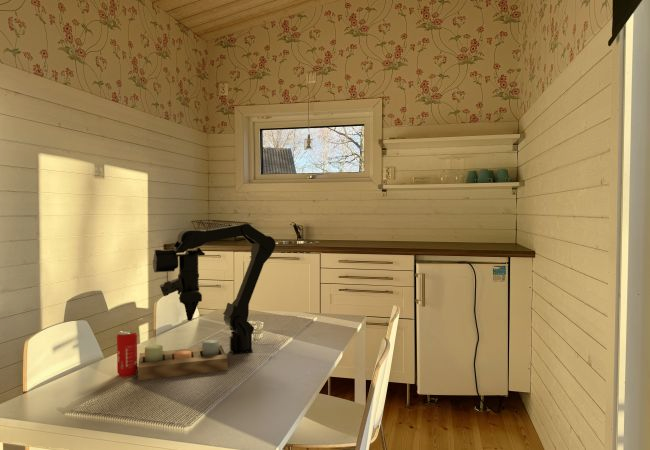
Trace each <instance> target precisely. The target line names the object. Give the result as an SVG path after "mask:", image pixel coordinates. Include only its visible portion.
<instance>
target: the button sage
mask: <svg viewBox="0 0 650 450" xmlns="http://www.w3.org/2000/svg"><path fill="white" fill-rule="evenodd" d="M163 349H164V348H163V345H161V344H152V345H147V346H145V347H144V353H145V362H155V361H163V351H164V350H163Z"/></svg>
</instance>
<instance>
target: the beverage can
mask: <svg viewBox="0 0 650 450" xmlns="http://www.w3.org/2000/svg"><path fill="white" fill-rule="evenodd" d="M116 356H117V357H116V358H117V361H116V363H117V364H116V365H117V367H116V368H117V375H118V377H120V378H131V377H133V376H136V374H137V373H138V334H137V331H136V330H133V329H132V330H131V329H130V330H129V329H128V330H122V331H118V332H117V335H116Z"/></svg>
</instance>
